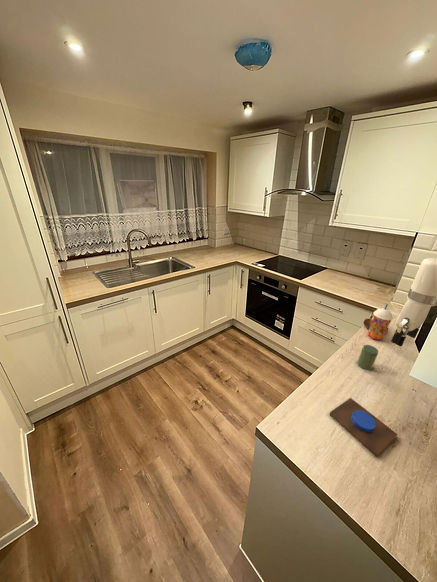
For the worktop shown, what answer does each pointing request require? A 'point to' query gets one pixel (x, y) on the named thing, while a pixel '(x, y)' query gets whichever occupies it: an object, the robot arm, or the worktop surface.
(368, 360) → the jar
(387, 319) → the smoothie
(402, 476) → the worktop surface
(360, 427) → the lid
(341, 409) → the board
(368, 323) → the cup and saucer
